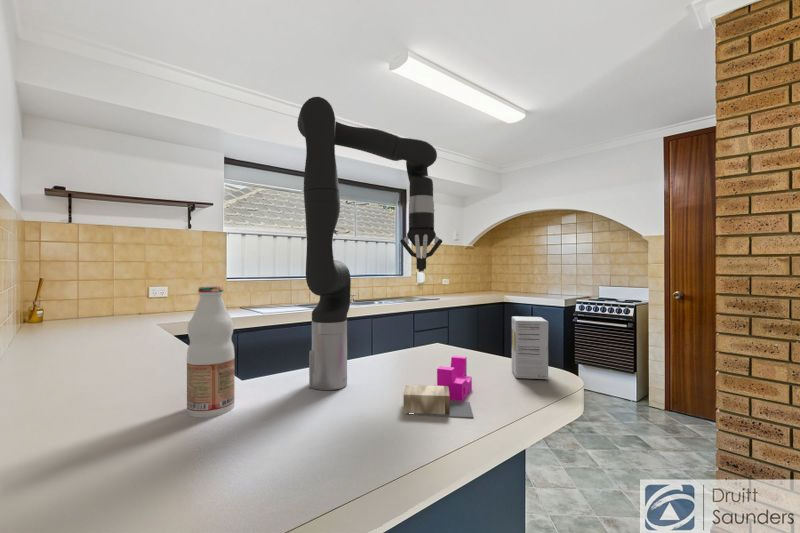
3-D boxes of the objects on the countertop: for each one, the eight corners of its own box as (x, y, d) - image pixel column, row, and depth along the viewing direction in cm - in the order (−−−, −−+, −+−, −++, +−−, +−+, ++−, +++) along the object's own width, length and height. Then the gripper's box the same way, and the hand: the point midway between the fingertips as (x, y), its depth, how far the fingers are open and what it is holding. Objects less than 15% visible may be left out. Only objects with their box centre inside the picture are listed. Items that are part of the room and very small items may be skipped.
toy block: (462, 402, 93) (462, 371, 93) (437, 399, 96) (437, 368, 96) (475, 385, 107) (475, 357, 107) (453, 382, 109) (453, 355, 109)
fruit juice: (185, 426, 79) (185, 288, 79) (187, 411, 87) (187, 286, 87) (235, 418, 83) (235, 287, 83) (233, 404, 92) (233, 285, 92)
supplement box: (511, 369, 122) (510, 316, 122) (541, 370, 121) (541, 316, 121) (515, 378, 112) (515, 320, 112) (549, 379, 111) (549, 320, 111)
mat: (398, 416, 84) (398, 414, 84) (402, 401, 93) (402, 400, 93) (473, 418, 83) (473, 416, 83) (469, 403, 92) (469, 402, 92)
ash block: (449, 414, 84) (403, 413, 85) (448, 403, 91) (405, 401, 92) (449, 395, 84) (403, 394, 85) (448, 386, 91) (405, 385, 92)
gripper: (397, 211, 112) (398, 271, 112) (444, 210, 111) (444, 271, 111) (400, 214, 120) (400, 271, 120) (443, 214, 118) (443, 271, 118)
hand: (421, 271), depth 115 cm, fingers closed
